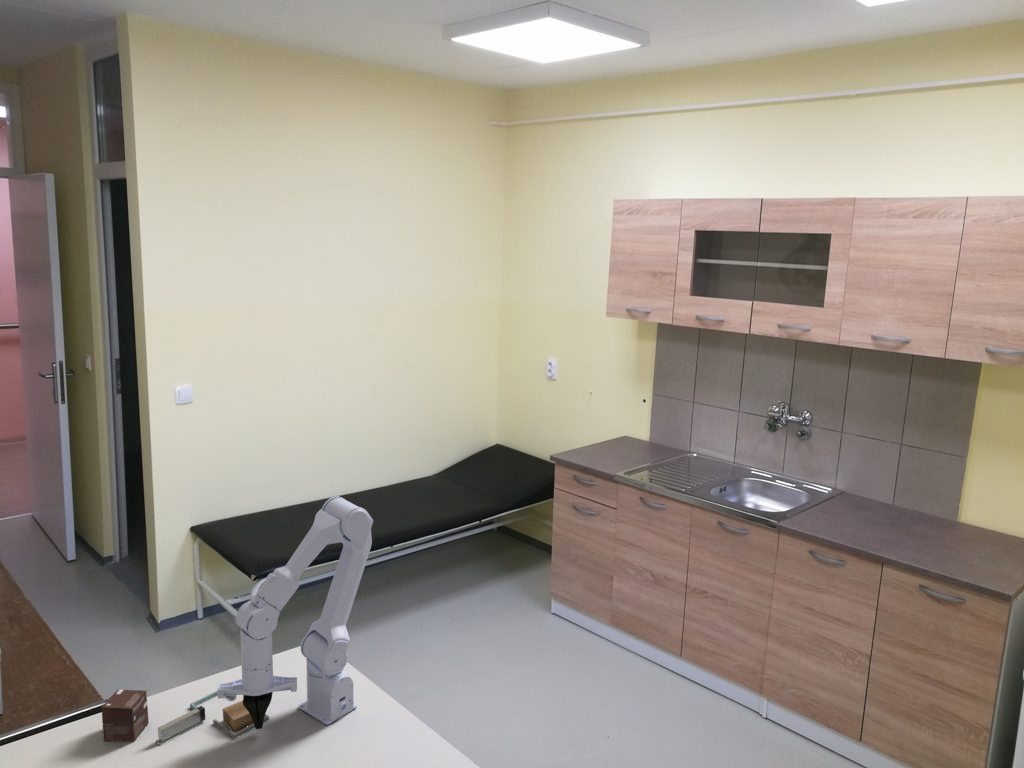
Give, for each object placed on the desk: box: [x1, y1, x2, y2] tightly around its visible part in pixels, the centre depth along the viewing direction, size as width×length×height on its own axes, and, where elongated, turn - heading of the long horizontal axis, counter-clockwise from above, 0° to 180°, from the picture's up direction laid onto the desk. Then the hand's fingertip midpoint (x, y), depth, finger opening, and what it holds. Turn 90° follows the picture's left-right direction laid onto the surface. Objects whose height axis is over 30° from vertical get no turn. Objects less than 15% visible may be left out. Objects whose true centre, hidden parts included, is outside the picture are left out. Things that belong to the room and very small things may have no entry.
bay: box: [189, 689, 237, 710], centre depth 158 cm, size 4×8×1 cm, turn 143°
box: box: [101, 689, 149, 743], centre depth 147 cm, size 6×6×7 cm
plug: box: [222, 699, 253, 733], centre depth 152 cm, size 5×5×3 cm
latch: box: [157, 705, 206, 741], centre depth 148 cm, size 1×9×2 cm, turn 143°
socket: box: [155, 713, 270, 746], centre depth 149 cm, size 11×18×1 cm, turn 143°
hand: (259, 726), depth 148 cm, fingers closed
